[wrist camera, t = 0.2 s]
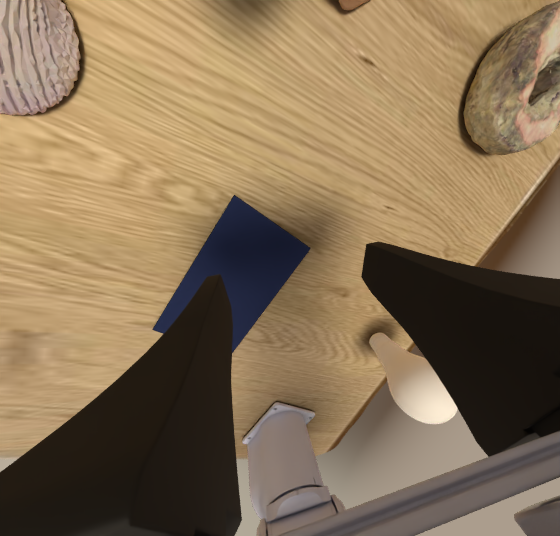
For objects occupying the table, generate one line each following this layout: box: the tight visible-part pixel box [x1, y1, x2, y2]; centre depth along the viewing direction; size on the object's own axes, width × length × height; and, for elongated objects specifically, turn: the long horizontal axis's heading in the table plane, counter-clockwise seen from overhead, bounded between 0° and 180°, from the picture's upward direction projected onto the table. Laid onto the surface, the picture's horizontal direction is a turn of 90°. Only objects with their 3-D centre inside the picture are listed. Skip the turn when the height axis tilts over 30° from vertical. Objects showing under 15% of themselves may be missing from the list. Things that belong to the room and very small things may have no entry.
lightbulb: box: [369, 333, 458, 424], centre depth 24 cm, size 6×6×11 cm
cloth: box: [153, 195, 311, 353], centre depth 21 cm, size 16×9×1 cm, turn 144°
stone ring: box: [463, 1, 560, 155], centre depth 18 cm, size 10×4×10 cm
